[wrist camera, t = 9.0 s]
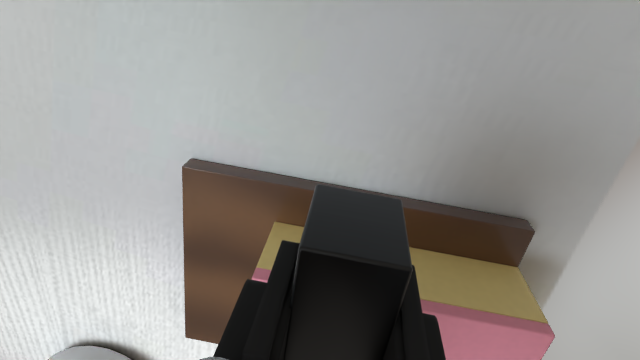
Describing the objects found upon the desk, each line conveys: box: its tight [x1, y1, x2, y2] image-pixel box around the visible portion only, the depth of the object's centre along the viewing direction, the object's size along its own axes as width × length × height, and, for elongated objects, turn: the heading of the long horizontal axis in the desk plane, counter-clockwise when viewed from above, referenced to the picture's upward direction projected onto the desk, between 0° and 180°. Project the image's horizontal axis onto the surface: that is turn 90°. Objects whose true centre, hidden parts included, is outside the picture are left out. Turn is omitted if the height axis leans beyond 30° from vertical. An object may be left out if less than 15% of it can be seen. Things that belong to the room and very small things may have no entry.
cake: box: [409, 247, 555, 360], centre depth 22 cm, size 9×10×5 cm
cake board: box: [182, 159, 535, 344], centre depth 25 cm, size 14×20×1 cm
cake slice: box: [252, 222, 304, 283], centre depth 22 cm, size 9×3×5 cm, turn 171°
